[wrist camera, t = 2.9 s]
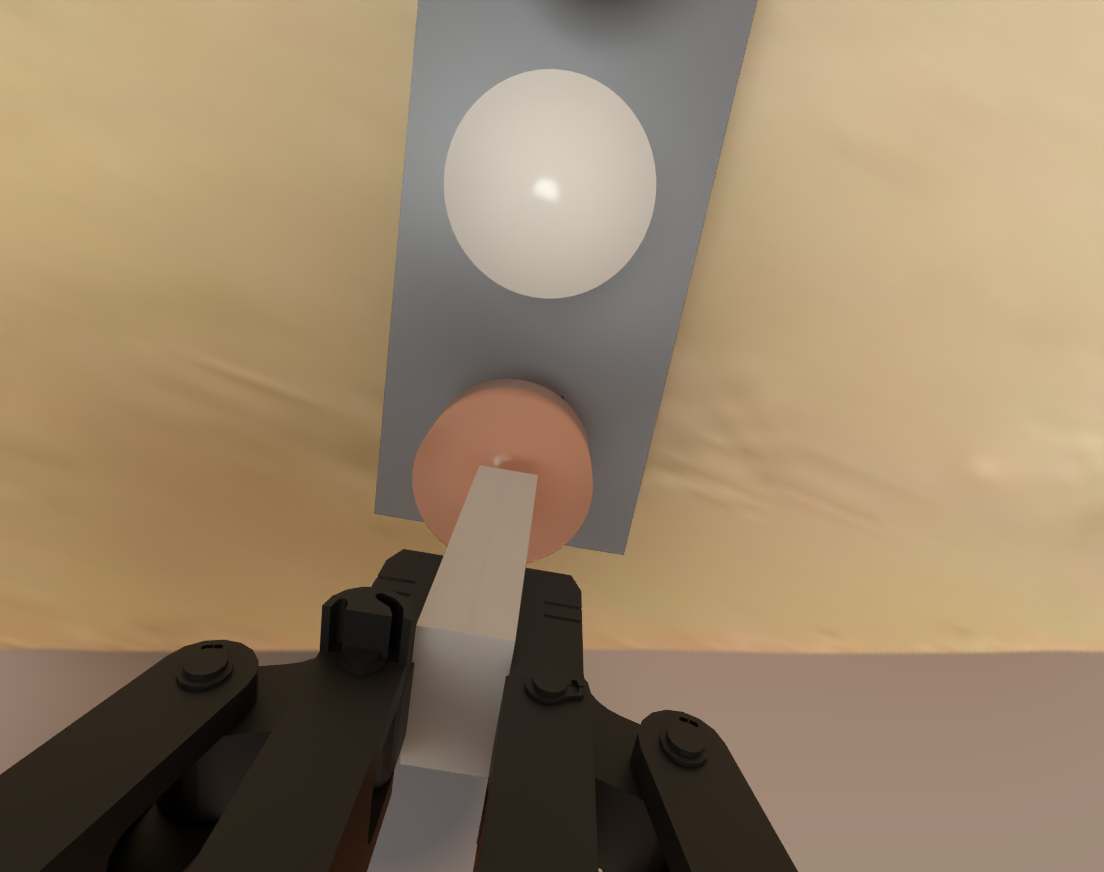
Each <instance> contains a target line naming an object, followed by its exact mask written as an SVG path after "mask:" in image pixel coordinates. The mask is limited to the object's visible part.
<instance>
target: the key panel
mask: <svg viewBox="0 0 1104 872" xmlns="http://www.w3.org/2000/svg"><path fill="white" fill-rule="evenodd" d="M756 3H757V0H418V9H417V21H416V33H415V44H414V56H413V68H412V79H411V91H410V103H409V114H408V126H407V138H406V149H405V161H404V173H403V184H402V196H401V208H400V219H399V231H398V243H397V254H396V266H395V278H394V289H393V301H392V313H391V324H390V336H389V348H388V359H387V371H386V382H385V394H384V406H383V417H382V429H381V441H380V452H379V464H378V476H377V487H376V499H375V511H374V514H379V515H385V516H391V517H397V518H403V519H409V520H415V521H421V522H424V520H423V518H422V516H421V514H420V512H419V510H418V507H417V505H416V502H415V498H414V494H413V485H412V471H413V466H414V460H415V457H416V454H417V451H418V449H419V447H420V445H421V443H422V441H423V439H424V438H425V436H426V435H427V433H428V432H429V430H430V429H431V428H432V426H433V425H434V423H435V422H436V420H437V419H438V417H439V416H440V415H441V413H442V412H443V410H444V409H445V407H446V406H447V405H448V404H449V403H450V402H451V401H452V400H453V399H454V398H455V397H456V396H458V395H459V394H460V393H462V392H463V391H465V390H467V389H468V388H470V387H472V386H474V385H477V384H479V383H482V382H486V381H489V380H496V379H520V380H525V381H529V382H533V383H536V384H539V385H541V386H544V387H546V388H547V389H549V390H551V391H553V392H554V393H556V394H557V395H559V396H560V397H561V398H562V399H563V400H565V401H566V402H567V403H568V404H569V405H570V406H571V408H572V409H573V410H574V411H575V412H576V414H577V416H578V417H579V419H580V420H581V422H582V424H583V426H584V429H585V431H586V434H587V438H588V442H589V449H590V457H591V467H592V477H593V493H592V500H591V504H590V508H589V511H588V514H587V516H586V518H585V520H584V522H583V524H582V525H581V527H580V529H579V530H578V531H577V533H576V534H575V535H574V536H573V537H572V539H571V540H569V541H568V542H567V543H566V544H565V545H566V546H572V547H578V548H584V549H590V550H596V551H602V552H608V553H614V554H620V555H624V552H625V548H626V543H627V539H628V535H629V531H630V527H631V523H632V518H633V514H634V510H635V506H636V502H637V498H638V494H639V489H640V485H641V481H642V477H643V473H644V469H645V464H646V460H647V456H648V452H649V448H650V444H651V440H652V435H653V431H654V427H655V423H656V419H657V415H658V410H659V406H660V402H661V398H662V394H663V390H664V386H665V381H666V377H667V373H668V369H669V365H670V361H671V356H672V352H673V348H674V344H675V340H676V336H677V332H678V327H679V323H680V319H681V315H682V311H683V307H684V302H685V298H686V294H687V290H688V286H689V282H690V278H691V273H692V269H693V265H694V261H695V257H696V253H697V248H698V244H699V240H700V236H701V232H702V228H703V224H704V219H705V215H706V211H707V207H708V203H709V199H710V194H711V190H712V186H713V182H714V178H715V174H716V169H717V165H718V161H719V157H720V153H721V149H722V145H723V140H724V136H725V132H726V128H727V124H728V120H729V115H730V111H731V107H732V103H733V99H734V95H735V91H736V86H737V82H738V78H739V74H740V70H741V66H742V61H743V57H744V53H745V49H746V45H747V41H748V37H749V32H750V28H751V24H752V20H753V16H754V12H755V7H756ZM539 69H559V70H567V71H572V72H576V73H579V74H583V75H585V76H588V77H590V78H592V79H594V80H597V81H598V82H600V83H602V84H603V85H605V86H606V87H608V88H609V89H611V90H612V91H613V92H614V93H615V94H617V95H618V96H619V97H620V98H621V99H622V100H623V101H624V102H625V103H626V104H627V105H628V106H629V108H630V109H631V110H632V111H633V113H634V114H635V116H636V117H637V119H638V120H639V122H640V123H641V125H642V127H643V129H644V131H645V133H646V135H647V138H648V141H649V144H650V146H651V149H652V154H653V158H654V163H655V170H656V198H655V204H654V210H653V214H652V218H651V221H650V224H649V227H648V229H647V232H646V234H645V237H644V239H643V240H642V242H641V244H640V246H639V247H638V249H637V251H636V252H635V253H634V255H633V256H632V257H631V259H630V260H629V261H628V262H627V263H626V265H625V266H624V267H623V268H622V269H621V270H620V271H619V272H618V273H616V274H615V275H614V276H613V277H611V278H610V279H609V280H607V281H606V282H604V283H603V284H601V285H599V286H598V287H596V288H594V289H591V290H589V291H587V292H585V293H581V294H578V295H575V296H571V297H564V298H553V299H544V298H535V297H530V296H526V295H522V294H518V293H516V292H513V291H511V290H508V289H506V288H504V287H503V286H501V285H499V284H497V283H495V282H494V281H493V280H491V279H490V278H489V277H487V276H486V275H485V274H484V273H483V272H481V271H480V270H479V269H478V268H477V267H476V266H475V265H474V264H473V262H472V261H471V260H470V259H469V257H468V256H467V255H466V254H465V252H464V250H463V249H462V247H461V246H460V244H459V242H458V240H457V238H456V236H455V234H454V232H453V230H452V227H451V224H450V221H449V218H448V214H447V209H446V204H445V197H444V170H445V164H446V158H447V154H448V150H449V147H450V144H451V141H452V138H453V136H454V134H455V132H456V129H457V127H458V126H459V124H460V122H461V121H462V119H463V117H464V116H465V114H466V113H467V112H468V110H469V109H470V108H471V107H472V105H473V104H474V103H475V102H476V101H477V100H478V99H479V98H480V97H481V96H482V95H483V94H484V93H485V92H487V91H488V90H490V89H491V88H492V87H494V86H495V85H497V84H498V83H500V82H502V81H504V80H506V79H508V78H510V77H512V76H515V75H518V74H521V73H524V72H528V71H534V70H539Z"/></svg>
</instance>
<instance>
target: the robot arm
mask: <svg viewBox="0 0 1104 872" xmlns="http://www.w3.org/2000/svg"><path fill="white" fill-rule="evenodd" d="M537 479H538V475H534V474H529V473H523V472H517V471H511V470H505V469H500V468H494V467H488V466H482V465H479V468H478V470H477V473H476V475H475V478H474V480H473V483H472V486H471V488H470V491H469V493H468V496H467V498H466V501H465V503H464V506H463V508H462V511H461V513H460V516H459V518H458V521H457V523H456V526H455V529H454V531H453V534H452V536H451V539H450V541H449V544H448V546H447V549H446V551H445V554H444V556H442V555H436V554H430V553H424V552H418V551H412V550H406V549H403V550H401V551H400V552H398V553H397V554H395V555H394V556H392V557H391V558H389V559H388V560H386V562H385V564H384V565H383V567H382V569H381V571H380V573H379V574H378V578H376V580H375V581H374V583H373V585H372V587H359V588H353V589H348V590H345V591H343V592H340V593H338V594H336V595H334V596H332V597H331V598H330V599H329V600H328V601H327V602H325V603H324V604H323V605H322V621H321V638H320V652H319V653H318V655H317V657H316V658H314V659H311V660H307V661H304V662H299V663H292V664H284V665H270V666H258V659H257V657H256V655H255V653H254V651H253V650H252V649H250V648H248V647H247V646H245V645H244V644H242V643H239V642H234V641H228V640H211V641H202V642H199V643H195V644H192V645H188V646H185V647H183V648H181V649H179V650H177V651H175V652H173V653H172V654H170V655H168V656H166V657H165V658H163V659H162V660H161V661H159V662H158V663H156V664H155V665H154V666H152V667H151V668H149V669H148V670H147V671H145V672H144V673H142V674H141V675H140V676H138V677H137V678H135V679H134V680H133V681H131V682H130V683H129V684H127V685H126V686H124V687H123V688H121V689H120V690H119V691H117V692H116V693H114V694H113V695H111V696H110V697H109V698H107V699H106V700H104V701H103V702H102V703H100V704H99V705H98V706H96V707H95V708H93V709H92V710H90V711H89V712H88V713H86V714H85V715H83V716H82V717H81V718H79V719H78V720H77V721H75V722H74V723H72V724H71V725H70V726H68V727H67V728H65V729H64V730H62V731H61V732H60V733H58V734H57V735H55V736H54V737H53V738H51V739H50V740H49V741H47V742H46V743H44V744H43V745H41V746H40V747H38V748H37V749H36V750H34V751H33V752H32V753H30V754H29V755H27V756H26V757H25V758H23V759H22V760H20V761H19V762H17V763H16V764H15V765H13V766H12V767H11V768H9V769H8V770H6V771H5V772H3V773H2V774H1V775H0V872H367V869H368V867H369V863H370V860H371V857H372V854H373V850H374V848H375V844H376V841H377V838H378V835H379V832H380V829H381V825H382V822H383V819H384V816H385V813H386V810H387V807H388V803H389V800H390V797H391V794H392V793H391V792H392V784H393V776H394V769H395V766H396V763H397V760H398V757H399V754H400V751H401V758H400V764H403V765H410V766H417V767H423V768H429V769H435V770H441V771H447V772H454V773H460V774H466V775H473V776H479V777H485V778H488V784H487V789H486V795H485V800H484V806H483V811H482V817H481V822H480V827H479V833H478V838H477V850H476V856H475V863H474V869H473V872H598V868H600V869H602V871H603V872H798V871H797V869H796V868H795V866H794V864H793V862H792V860H791V859H790V857H789V855H788V853H787V852H786V850H785V848H784V846H783V844H782V843H781V841H780V839H779V837H778V836H777V834H776V833H775V831H774V829H773V827H772V825H771V823H770V822H769V820H768V818H767V816H766V815H765V813H764V811H763V809H762V808H761V806H760V804H759V802H758V801H757V799H756V797H755V795H754V793H753V792H752V790H751V788H750V786H749V785H748V783H747V781H746V780H745V778H744V776H743V774H742V773H741V771H740V769H739V767H738V766H737V764H736V762H735V760H734V758H733V757H732V755H731V753H730V751H729V750H728V748H727V746H726V744H725V743H724V742H723V740H722V739H721V738H720V737H719V735H718V734H717V733H716V732H715V730H714V729H712V728H711V727H710V726H708V725H707V724H706V723H704V722H703V721H702V720H700V719H698V718H696V717H693V716H691V715H688V714H686V713H684V712H679V711H672V710H663V711H658V712H653V713H651V714H650V715H649V716H647V717H646V718H645V719H643V720H642V722H641V725H640V724H638V723H636V722H633V721H631V720H629V719H626V718H624V717H622V716H619V715H618V714H616V713H614V712H612V711H610V710H608V709H607V708H606V707H604V706H603V705H602V704H600V703H599V702H598V701H597V700H596V699H595V698H594V696H593V695H592V694H591V692H590V689H589V685H588V682H587V681H586V680H585V679H584V674H583V639H582V610H581V608H582V603H581V590H580V588H579V587H578V585H577V584H576V582H575V581H574V579H573V578H572V576H571V575H565V574H560V573H554V572H548V571H542V570H536V569H530V568H525V566H526V559H527V552H528V545H529V537H530V530H531V523H532V515H533V508H534V501H535V494H536V486H537ZM401 748H402V749H401Z"/></svg>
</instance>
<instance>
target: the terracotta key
mask: <svg viewBox="0 0 1104 872" xmlns="http://www.w3.org/2000/svg"><path fill="white" fill-rule="evenodd" d="M479 465H482V466H488V467H494V468H500V469H505V470H511V471H517V472H523V473H529V474H534V475H538V479H537V486H536V494H535V501H534V508H533V515H532V523H531V530H530V537H529V545H528V552H527V559H526V563H530V562H534V561H537V560H539V559H542V558H545V557H547V556H549V555H550V554H552V553H554V552H556V551H557V550H559V549H560V548H561V547H563V546H564V545H565V544H566V543H567V542H568V541H569V540H571V539H572V537H573V536H574V535H575V534H576V533H577V531H578V530H579V529H580V527H581V525H582V524H583V522H584V520H585V518H586V516H587V514H588V511H589V508H590V504H591V500H592V493H593V477H592V467H591V457H590V449H589V442H588V438H587V434H586V431H585V429H584V426H583V424H582V422H581V420H580V419H579V417H578V416H577V414H576V412H575V411H574V410H573V409H572V408H571V406H570V405H569V404H568V403H567V402H566V401H565V400H563V399H562V398H561V397H560V396H559V395H557V394H556V393H554V392H553V391H551V390H549V389H547V388H546V387H544V386H541V385H539V384H536V383H533V382H529V381H525V380H520V379H496V380H489V381H486V382H482V383H479V384H477V385H474V386H472V387H470V388H468V389H467V390H465V391H463V392H462V393H460V394H459V395H458V396H456V397H455V398H454V399H453V400H452V401H451V402H450V403H449V404H448V405H447V406H446V407H445V409H444V410H443V412H442V413H441V415H440V416H439V417H438V419H437V420H436V422H435V423H434V425H433V426H432V428H431V429H430V430H429V432H428V433H427V435H426V436H425V438H424V439H423V441H422V443H421V445H420V447H419V449H418V451H417V454H416V457H415V460H414V466H413V471H412V485H413V494H414V498H415V502H416V505H417V507H418V510H419V512H420V514H421V516H422V518H423V520H424V522H425V523H426V525H427V526H428V527H429V529H430V530H431V531H432V533H433V534H434V535H435V536H436V537H437V538H438V539H439V540H440V541H441V542H443V543H444V544H445V545H446V546H448V544H449V541H450V539H451V536H452V534H453V531H454V529H455V526H456V523H457V521H458V518H459V516H460V513H461V511H462V508H463V506H464V503H465V501H466V498H467V496H468V493H469V491H470V488H471V486H472V483H473V480H474V478H475V475H476V473H477V470H478V468H479Z"/></svg>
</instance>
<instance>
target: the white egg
mask: <svg viewBox="0 0 1104 872" xmlns="http://www.w3.org/2000/svg"><path fill="white" fill-rule="evenodd" d="M444 197H445V204H446V209H447V214H448V218H449V221H450V224H451V227H452V230H453V232H454V234H455V236H456V238H457V240H458V242H459V244H460V246H461V247H462V249H463V250H464V252H465V254H466V255H467V256H468V257H469V259H470V260H471V261H472V262H473V264H474V265H475V266H476V267H477V268H478V269H479V270H480V271H481V272H483V273H484V274H485V275H486V276H487V277H489V278H490V279H491V280H493V281H494V282H495V283H497V284H499V285H501V286H503V287H504V288H506V289H508V290H511V291H513V292H516V293H518V294H522V295H526V296H530V297H535V298H544V299H553V298H564V297H571V296H575V295H578V294H581V293H585V292H587V291H589V290H591V289H594V288H596V287H598V286H599V285H601V284H603V283H604V282H606V281H607V280H609V279H610V278H611V277H613V276H614V275H615V274H616V273H618V272H619V271H620V270H621V269H622V268H623V267H624V266H625V265H626V263H627V262H628V261H629V260H630V259H631V257H632V256H633V255H634V253H635V252H636V251H637V249H638V247H639V246H640V244H641V242H642V240H643V239H644V237H645V234H646V232H647V229H648V227H649V224H650V221H651V218H652V214H653V210H654V204H655V198H656V170H655V163H654V158H653V154H652V149H651V146H650V144H649V141H648V138H647V135H646V133H645V131H644V129H643V127H642V125H641V123H640V122H639V120H638V119H637V117H636V116H635V114H634V113H633V111H632V110H631V109H630V108H629V106H628V105H627V104H626V103H625V102H624V101H623V100H622V99H621V98H620V97H619V96H618V95H617V94H615V93H614V92H613V91H612V90H611V89H609V88H608V87H606V86H605V85H603V84H602V83H600V82H598V81H597V80H594V79H592V78H590V77H588V76H585V75H583V74H579V73H576V72H572V71H567V70H559V69H539V70H534V71H528V72H524V73H521V74H518V75H515V76H512V77H510V78H508V79H506V80H504V81H502V82H500V83H498V84H497V85H495V86H494V87H492V88H491V89H490V90H488V91H487V92H485V93H484V94H483V95H482V96H481V97H480V98H479V99H478V100H477V101H476V102H475V103H474V104H473V105H472V107H471V108H470V109H469V110H468V112H467V113H466V114H465V116H464V117H463V119H462V121H461V122H460V124H459V126H458V127H457V129H456V132H455V134H454V136H453V138H452V141H451V144H450V147H449V150H448V154H447V158H446V164H445V170H444Z"/></svg>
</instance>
